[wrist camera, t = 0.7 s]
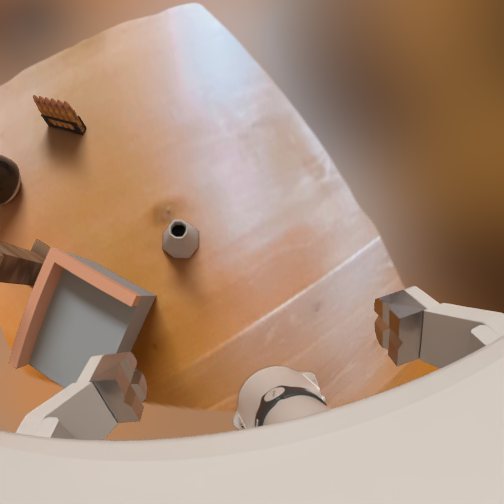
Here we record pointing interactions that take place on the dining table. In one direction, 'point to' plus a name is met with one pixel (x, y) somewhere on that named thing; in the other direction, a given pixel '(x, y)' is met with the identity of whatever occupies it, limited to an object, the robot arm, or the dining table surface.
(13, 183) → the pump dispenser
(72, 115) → the ammunition clip
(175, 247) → the flask
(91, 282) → the terracotta walls
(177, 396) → the dining table surface
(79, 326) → the slate crate
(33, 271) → the walnut post
